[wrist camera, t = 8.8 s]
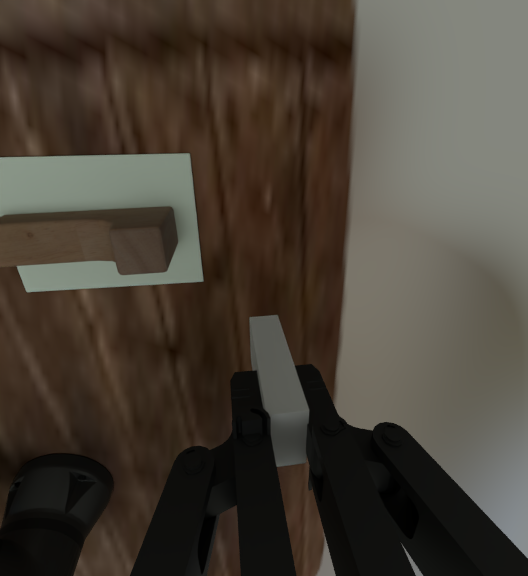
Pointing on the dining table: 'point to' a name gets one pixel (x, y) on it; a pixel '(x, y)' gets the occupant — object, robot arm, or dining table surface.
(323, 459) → the robot arm
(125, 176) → the mat
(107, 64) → the dining table surface
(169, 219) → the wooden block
